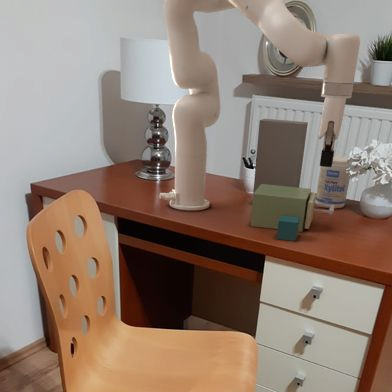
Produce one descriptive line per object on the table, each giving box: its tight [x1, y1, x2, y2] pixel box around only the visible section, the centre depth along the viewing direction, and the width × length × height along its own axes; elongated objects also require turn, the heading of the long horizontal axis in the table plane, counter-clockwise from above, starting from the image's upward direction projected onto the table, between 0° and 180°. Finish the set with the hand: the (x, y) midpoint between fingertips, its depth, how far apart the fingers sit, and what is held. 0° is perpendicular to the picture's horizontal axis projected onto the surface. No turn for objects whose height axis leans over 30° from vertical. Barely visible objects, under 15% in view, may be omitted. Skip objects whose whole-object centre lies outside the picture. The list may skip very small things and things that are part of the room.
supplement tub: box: [315, 155, 351, 210], centre depth 167 cm, size 10×10×15 cm
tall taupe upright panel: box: [251, 118, 309, 204], centre depth 163 cm, size 14×6×25 cm, turn 68°
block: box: [276, 216, 300, 242], centre depth 140 cm, size 5×5×5 cm
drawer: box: [304, 192, 335, 230], centre depth 149 cm, size 19×11×7 cm, turn 74°
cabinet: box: [250, 184, 312, 233], centre depth 150 cm, size 15×13×9 cm
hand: (325, 166), depth 141 cm, fingers closed
